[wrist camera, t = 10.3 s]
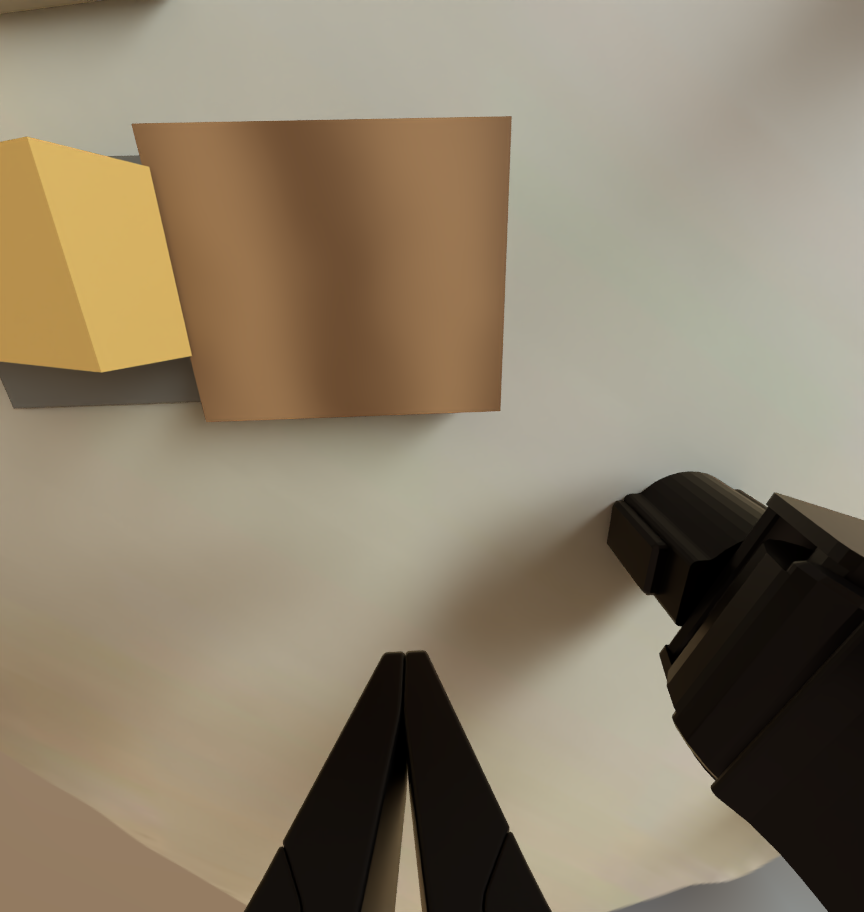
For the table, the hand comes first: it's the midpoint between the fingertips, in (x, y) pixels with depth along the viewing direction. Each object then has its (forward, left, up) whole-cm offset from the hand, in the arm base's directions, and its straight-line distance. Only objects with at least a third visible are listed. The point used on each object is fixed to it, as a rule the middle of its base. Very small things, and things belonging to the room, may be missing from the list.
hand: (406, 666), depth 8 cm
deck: (+2, -7, -12) cm, 14 cm away
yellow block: (+11, -8, -10) cm, 17 cm away
